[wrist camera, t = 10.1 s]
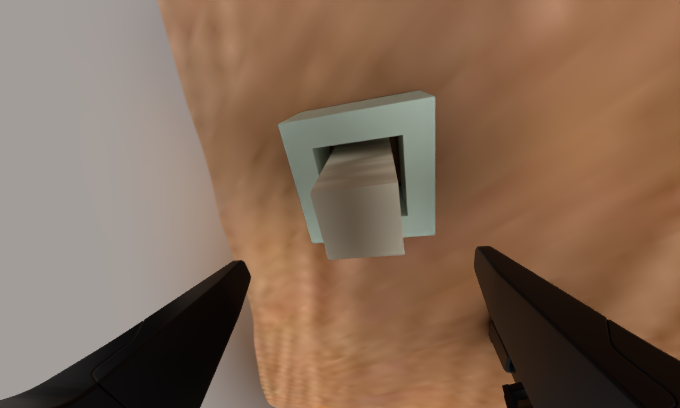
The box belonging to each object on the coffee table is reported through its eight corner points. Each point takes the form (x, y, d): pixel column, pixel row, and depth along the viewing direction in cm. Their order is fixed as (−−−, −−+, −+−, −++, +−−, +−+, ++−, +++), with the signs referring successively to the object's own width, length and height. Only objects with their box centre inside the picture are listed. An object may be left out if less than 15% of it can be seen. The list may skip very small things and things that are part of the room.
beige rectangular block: (387, 131, 19) (398, 182, 10) (392, 178, 21) (404, 254, 12) (338, 140, 20) (309, 193, 11) (347, 184, 22) (328, 259, 13)
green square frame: (420, 90, 17) (435, 96, 13) (423, 201, 21) (435, 234, 17) (299, 112, 19) (277, 124, 15) (324, 211, 23) (312, 243, 19)
